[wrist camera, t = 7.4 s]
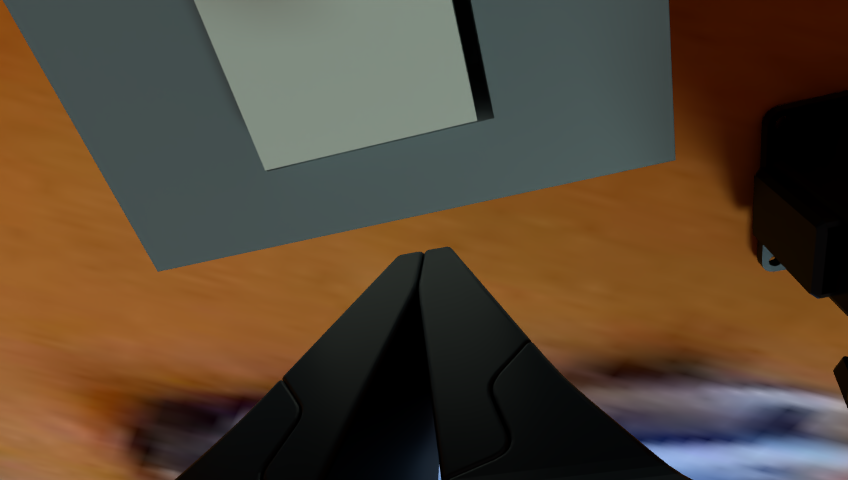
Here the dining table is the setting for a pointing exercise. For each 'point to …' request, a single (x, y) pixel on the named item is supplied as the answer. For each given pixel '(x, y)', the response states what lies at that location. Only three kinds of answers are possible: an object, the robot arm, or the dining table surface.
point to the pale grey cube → (339, 72)
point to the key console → (361, 168)
